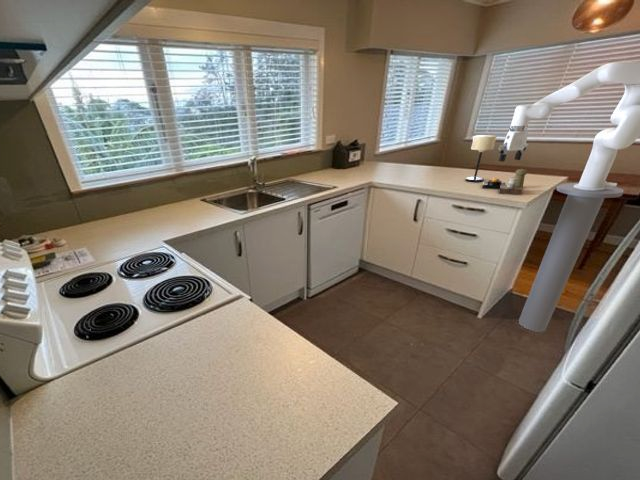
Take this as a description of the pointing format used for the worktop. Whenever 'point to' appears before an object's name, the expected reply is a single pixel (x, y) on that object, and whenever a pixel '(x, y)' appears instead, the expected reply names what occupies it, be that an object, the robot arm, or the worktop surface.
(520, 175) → the olive upright piece
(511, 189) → the dimmer panel
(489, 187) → the switch block
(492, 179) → the lamp button
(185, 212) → the worktop surface
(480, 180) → the lamp
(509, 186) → the dimmer knob
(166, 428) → the worktop surface
